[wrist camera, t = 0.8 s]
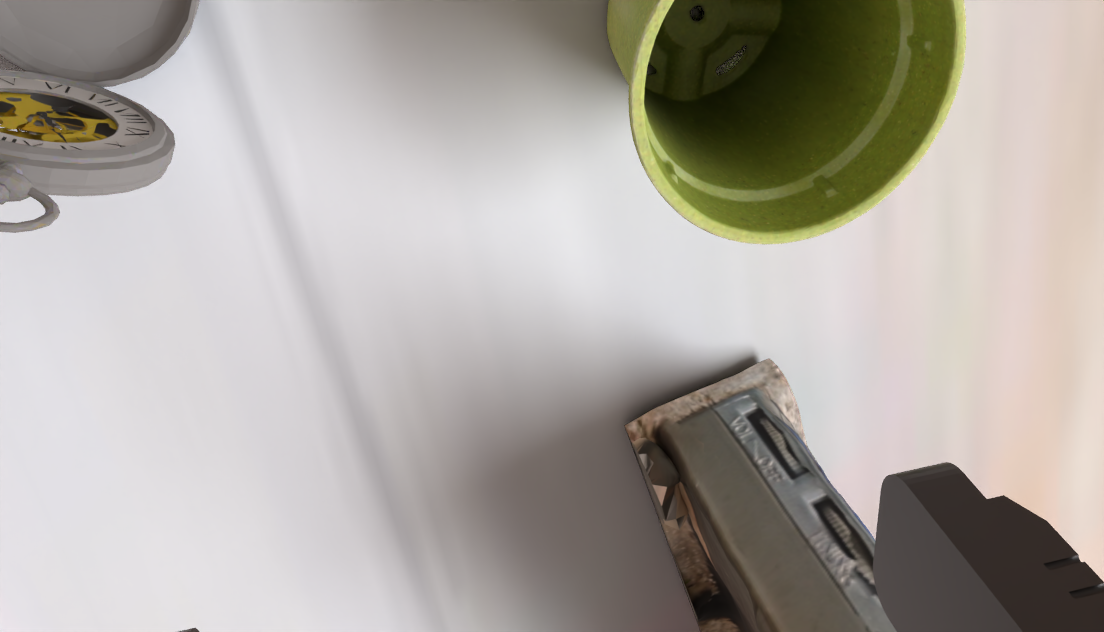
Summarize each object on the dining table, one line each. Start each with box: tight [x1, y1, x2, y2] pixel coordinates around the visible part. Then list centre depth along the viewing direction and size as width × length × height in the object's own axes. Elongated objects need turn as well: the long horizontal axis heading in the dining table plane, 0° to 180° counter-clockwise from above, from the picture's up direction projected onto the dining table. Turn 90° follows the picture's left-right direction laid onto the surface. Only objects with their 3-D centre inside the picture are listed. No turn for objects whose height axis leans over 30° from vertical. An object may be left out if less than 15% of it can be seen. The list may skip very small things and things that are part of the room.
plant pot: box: [607, 0, 966, 244], centre depth 30 cm, size 9×9×9 cm
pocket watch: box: [0, 0, 200, 233], centre depth 25 cm, size 8×8×10 cm
